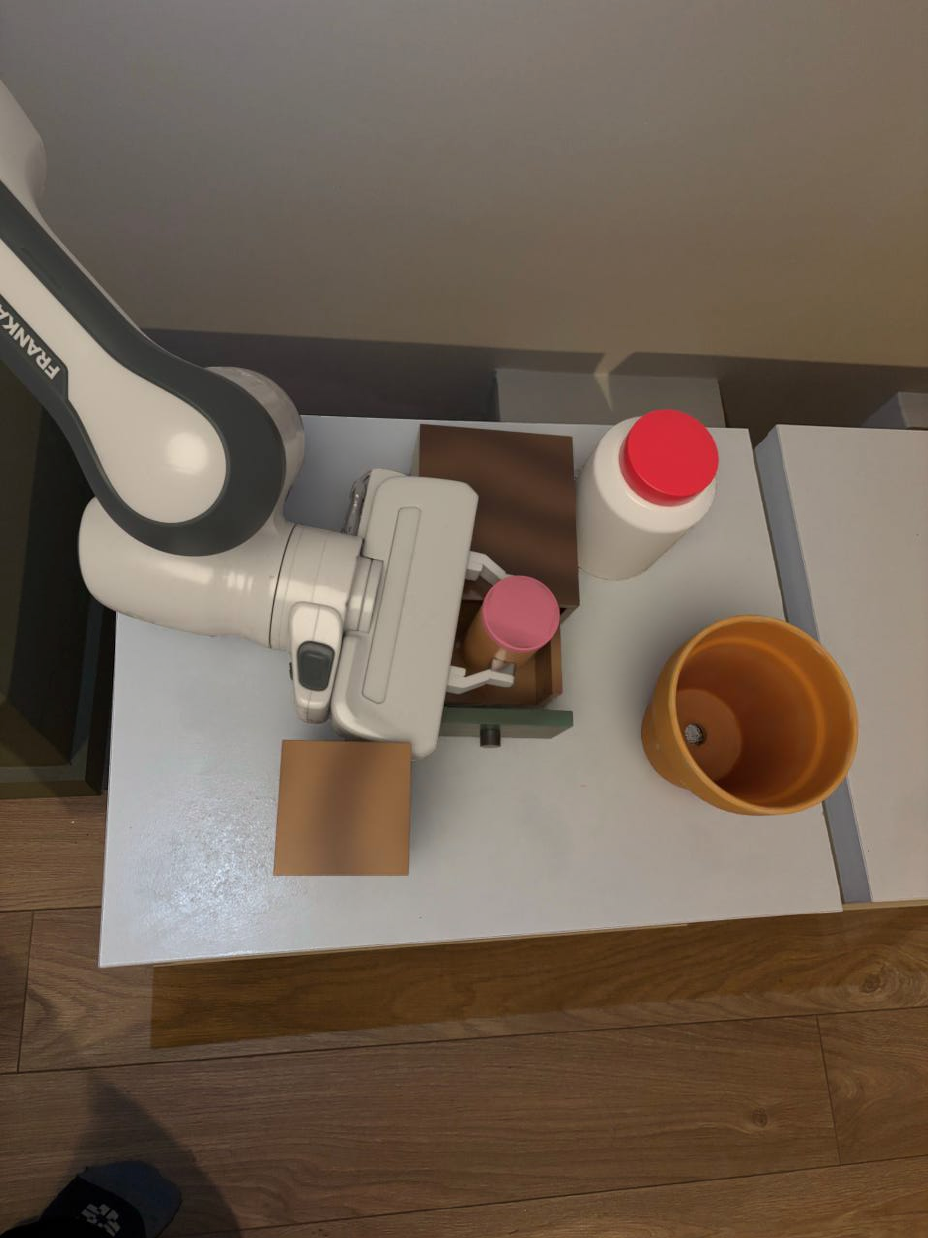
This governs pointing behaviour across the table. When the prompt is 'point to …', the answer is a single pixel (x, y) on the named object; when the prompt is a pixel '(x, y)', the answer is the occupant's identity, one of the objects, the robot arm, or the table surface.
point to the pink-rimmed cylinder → (510, 624)
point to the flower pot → (753, 718)
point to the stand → (343, 809)
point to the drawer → (507, 696)
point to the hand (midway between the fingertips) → (519, 633)
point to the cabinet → (512, 502)
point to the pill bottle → (643, 492)
